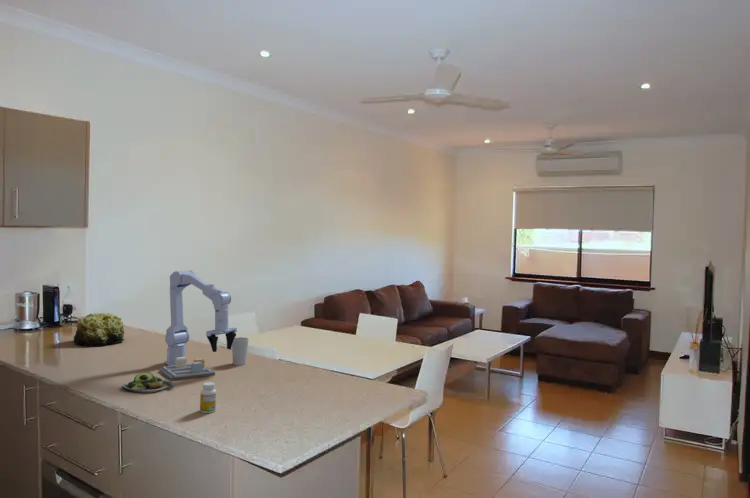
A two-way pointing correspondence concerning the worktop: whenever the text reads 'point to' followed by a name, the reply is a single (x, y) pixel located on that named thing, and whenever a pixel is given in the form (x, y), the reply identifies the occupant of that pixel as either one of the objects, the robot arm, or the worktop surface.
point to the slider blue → (196, 367)
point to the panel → (184, 372)
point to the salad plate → (147, 383)
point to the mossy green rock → (99, 330)
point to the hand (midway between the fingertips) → (221, 350)
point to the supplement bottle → (208, 398)
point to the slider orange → (199, 361)
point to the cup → (239, 350)
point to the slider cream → (180, 362)
